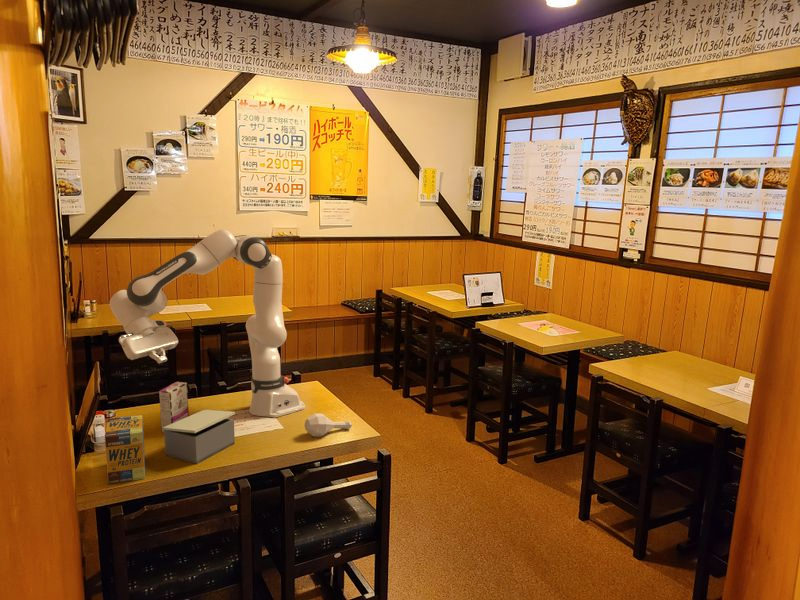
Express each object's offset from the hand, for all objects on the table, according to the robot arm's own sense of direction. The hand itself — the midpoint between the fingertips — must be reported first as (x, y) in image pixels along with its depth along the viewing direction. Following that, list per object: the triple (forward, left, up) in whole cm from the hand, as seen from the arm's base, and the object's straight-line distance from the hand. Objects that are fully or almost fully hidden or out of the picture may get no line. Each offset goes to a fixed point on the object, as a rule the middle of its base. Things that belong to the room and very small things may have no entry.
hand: (163, 361), depth 202 cm
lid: (-8, +14, -19) cm, 25 cm away
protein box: (+16, +17, -29) cm, 38 cm away
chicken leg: (-52, +23, -29) cm, 64 cm away
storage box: (-8, +13, -29) cm, 33 cm away
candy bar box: (-5, -10, -29) cm, 31 cm away
